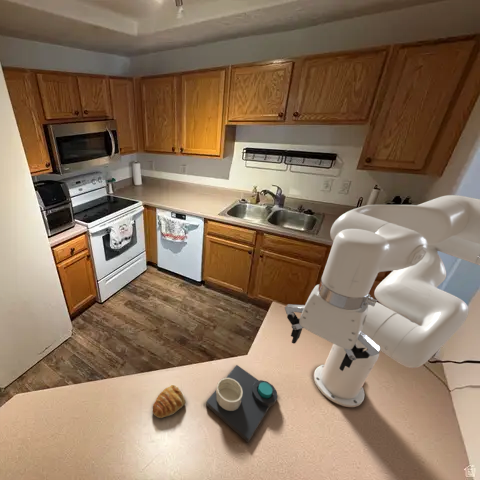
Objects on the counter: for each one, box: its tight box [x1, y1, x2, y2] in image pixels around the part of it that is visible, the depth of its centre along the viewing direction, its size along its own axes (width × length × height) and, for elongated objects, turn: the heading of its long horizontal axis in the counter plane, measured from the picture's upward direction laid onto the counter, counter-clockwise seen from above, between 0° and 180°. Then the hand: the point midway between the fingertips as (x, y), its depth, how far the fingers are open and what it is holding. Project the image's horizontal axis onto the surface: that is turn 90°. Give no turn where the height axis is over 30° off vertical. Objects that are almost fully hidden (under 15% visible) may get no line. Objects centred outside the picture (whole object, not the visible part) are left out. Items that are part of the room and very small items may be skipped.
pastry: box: [152, 384, 187, 419], centre depth 73 cm, size 9×7×4 cm
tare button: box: [258, 382, 272, 398], centre depth 72 cm, size 4×4×2 cm
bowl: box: [215, 377, 243, 411], centre depth 72 cm, size 7×7×4 cm
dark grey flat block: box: [205, 364, 278, 444], centre depth 73 cm, size 16×14×4 cm
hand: (317, 352), depth 57 cm, fingers open, 9 cm apart
